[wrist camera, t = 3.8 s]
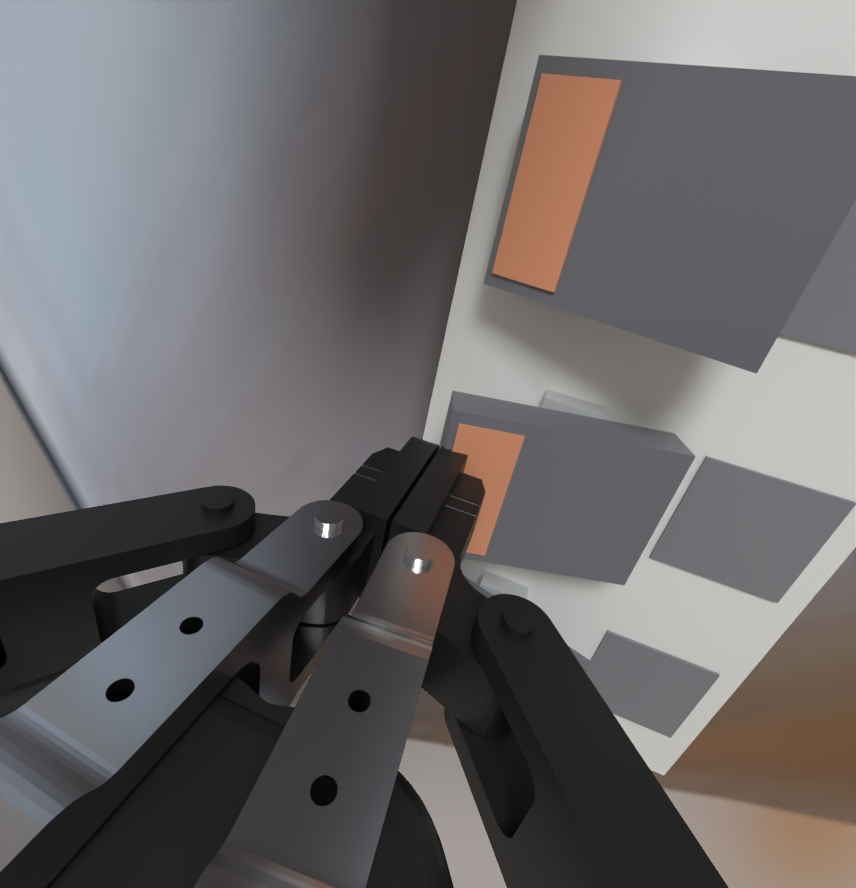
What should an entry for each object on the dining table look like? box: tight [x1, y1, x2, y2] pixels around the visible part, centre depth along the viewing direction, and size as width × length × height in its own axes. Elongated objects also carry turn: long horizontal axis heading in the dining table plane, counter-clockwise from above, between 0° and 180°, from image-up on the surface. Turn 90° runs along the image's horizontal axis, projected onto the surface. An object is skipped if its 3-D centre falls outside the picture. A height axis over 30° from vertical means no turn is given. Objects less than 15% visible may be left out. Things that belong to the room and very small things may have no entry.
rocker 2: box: [439, 390, 696, 585], centre depth 13 cm, size 6×4×1 cm
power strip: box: [422, 0, 856, 775], centre depth 14 cm, size 12×28×5 cm, turn 168°
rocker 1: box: [484, 55, 856, 374], centre depth 9 cm, size 6×4×1 cm
